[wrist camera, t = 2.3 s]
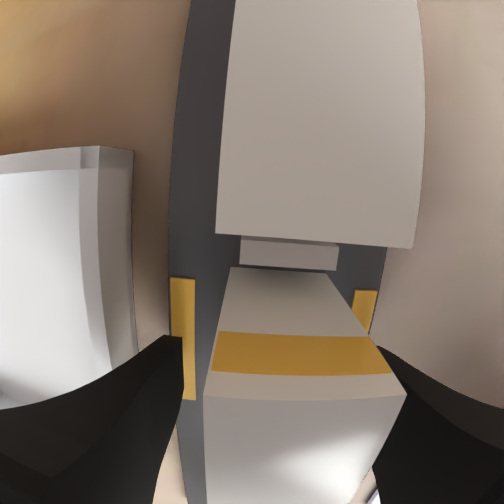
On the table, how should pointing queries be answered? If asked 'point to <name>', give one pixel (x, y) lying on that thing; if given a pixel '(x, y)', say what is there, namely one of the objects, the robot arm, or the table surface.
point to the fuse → (323, 122)
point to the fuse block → (227, 245)
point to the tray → (64, 270)
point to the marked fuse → (292, 393)
